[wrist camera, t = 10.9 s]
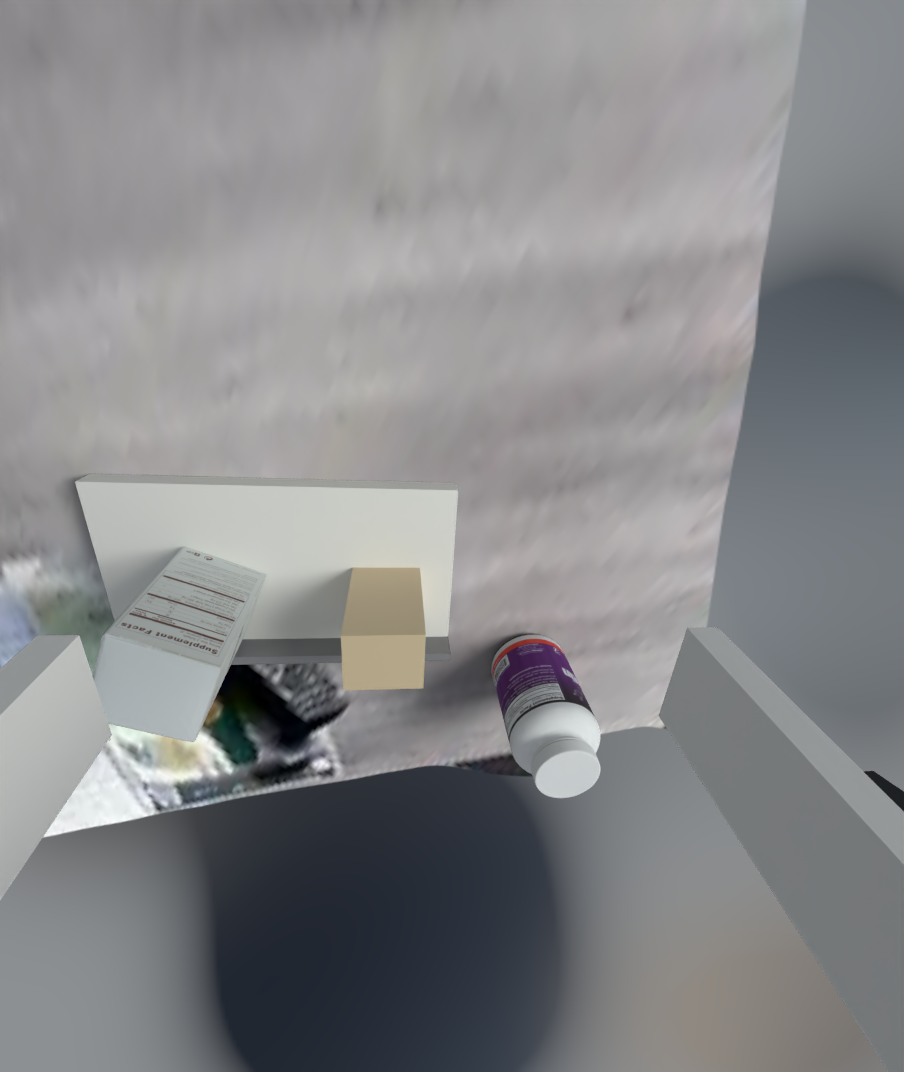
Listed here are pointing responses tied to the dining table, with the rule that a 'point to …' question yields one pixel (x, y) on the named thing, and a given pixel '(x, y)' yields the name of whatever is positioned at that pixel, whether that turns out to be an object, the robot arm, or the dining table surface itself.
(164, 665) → the supplement box
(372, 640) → the carton
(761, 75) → the dining table surface
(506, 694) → the pill bottle
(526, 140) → the dining table surface
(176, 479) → the shelf
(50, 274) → the dining table surface
